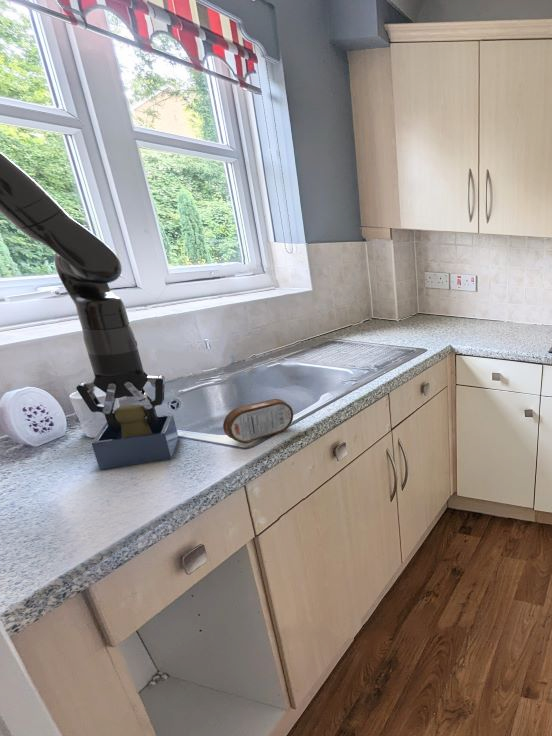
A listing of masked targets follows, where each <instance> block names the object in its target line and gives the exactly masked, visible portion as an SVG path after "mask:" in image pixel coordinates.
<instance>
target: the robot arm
mask: <svg viewBox="0 0 552 736" xmlns="http://www.w3.org/2000/svg"><path fill="white" fill-rule="evenodd" d="M0 213H1V214H2V215H3V216H4V217H5V218H6V219H7V220H8V221H10V222H11V224H13V225H14V226H15V227H16V228H17V229H19V231H21V232H22V233H23V234H24V235H26V236H27V237H28V238H30V239H32V240H34V241H36V242H39V243H42V244H43V245H45V246H47V247H48V248H50V249H51V250H52V251H53V252H54V253H55V254H54V267H55V270H56V273H57V275H58V277H59V280H60V281H61V283H62V285H63V287H64V288H65V291H66V292H67V294H68V296H69V297H70V299H71V300H72V302H73V304H74V305H75V308H76V309H75V310H76V313H77V316H78V320H79V323H80V327H81V330H82V335H83V336H82V337H83V342H84V345H85V349H86V352H87V355H88V356H87V357H88V359H89V362H90V366H91V368H92V371H93V376H94V378H93V380H91V381H87V382H86V381H81V382H80V383H79V384H78V385H77V386H76V388H75V389H76V392H77V391H78V392H79V394H80V395H81V397H82V398H83V400H84V401H85V403H86V404H87V406H88V407H89V409H90V411H92V412H102V413H104V414H105V417H106V421H107V424H108V426H109V427H112V428H113V430H116V429H119V427H120V424H119V422H118V421H117V420H116V418H115V415H114V412H115V410H113V408H114V404H115V400H116V398H118V399H122V398H124V397H127V398H132V397H133V398H134V397H135V399H136V400H137V401H138V402H140V403H141V405H143V406H144V407H145V413H146V417H147V421H148V424H149V425H154V422H156V420H157V416H158V415H157V411H156V407H157V406H161V405H162V404H163V402H164V400H165V384H166V383H165V382H166V378H165V376H164V375H162V374H161V375H158V376H155V375H148V374H147V373H146V372H145V370H144V367H143V363H142V360H141V356H140V352H139V348H138V342H137V340H136V337H135V334H134V331H133V330H132V327H131V325H130V321H129V317H128V313H127V309H126V305H125V303H124V301H123V300H122V299H121V298H120V297H119V296H117V295H116V294H115V293H113V292H112V290H111V288H110V285H109V284H111V283H114V282H115V281H116V280H118V279H119V278H120V277H121V274H122V271H123V270H122V269H123V268H122V263H121V261H120V258H119V257H118V255H116V253H115V252H114V251H113V250H112V249H111V248H110V246H108V245H107V244H106V243H105V242H104V241H102V239H100V238H99V237H97V235H95V234H94V233H92V232H91V231H90V230H88V229H87V228H86V227H85V226H83V225H82V224H80V223H79V222H77V221H76V220H75V219H74V218H72V217H71V216H70V215H69V213H67V211H65V209H64V208H63V207H61V205H60V204H59V203H58V202H57V201H56V200H55V199H54V198H53V197H52V196H50V194H49V193H48V192H47V191H46V190H44V189H43V187H42V186H40V184H39V183H37V182H36V180H34V179H33V178H32V177H31V176H29V174H27V173H26V172H25V171H24V170H23V169H21V167H19V166H18V165H17V164H16V163H14V162H13V161H12V160H11V159H10V158H8V157H7V156H6V155H5V154H4V153H2V152H1V151H0ZM147 382H148V383H150V385H151V386H152V387H153V388H154V389H155V391H154V398H152V397H151V396H150V395H149V393H148V391H147V390H146V389H145V386H146V384H147ZM96 387H98V388H99V389H100V390H102V391H103V392H105V393H106V397H105V401H104V404H100V402H99V401H98V399H97V397H96V396H95V394H94V393H93V392H94V390H95V388H96Z"/></svg>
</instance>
